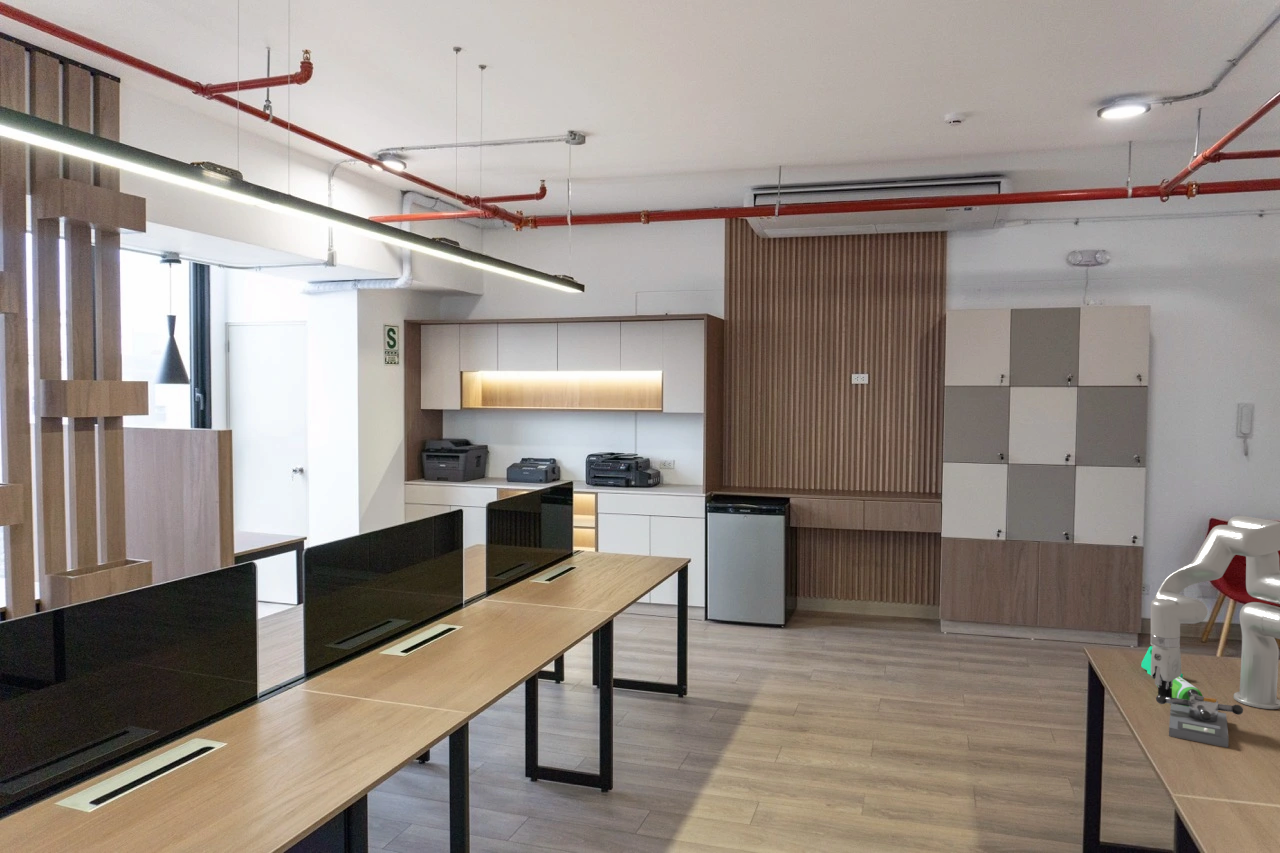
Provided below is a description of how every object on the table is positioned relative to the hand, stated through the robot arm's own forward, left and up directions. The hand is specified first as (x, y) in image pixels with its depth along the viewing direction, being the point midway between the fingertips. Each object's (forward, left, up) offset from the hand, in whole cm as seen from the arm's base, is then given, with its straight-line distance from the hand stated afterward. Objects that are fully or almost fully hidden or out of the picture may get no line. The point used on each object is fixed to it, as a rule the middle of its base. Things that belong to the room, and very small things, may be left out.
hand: (1164, 700), depth 260 cm
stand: (+5, +8, -5) cm, 11 cm away
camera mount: (-44, -2, -6) cm, 44 cm away
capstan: (+2, +8, -2) cm, 9 cm away
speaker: (-18, +3, -6) cm, 20 cm away
